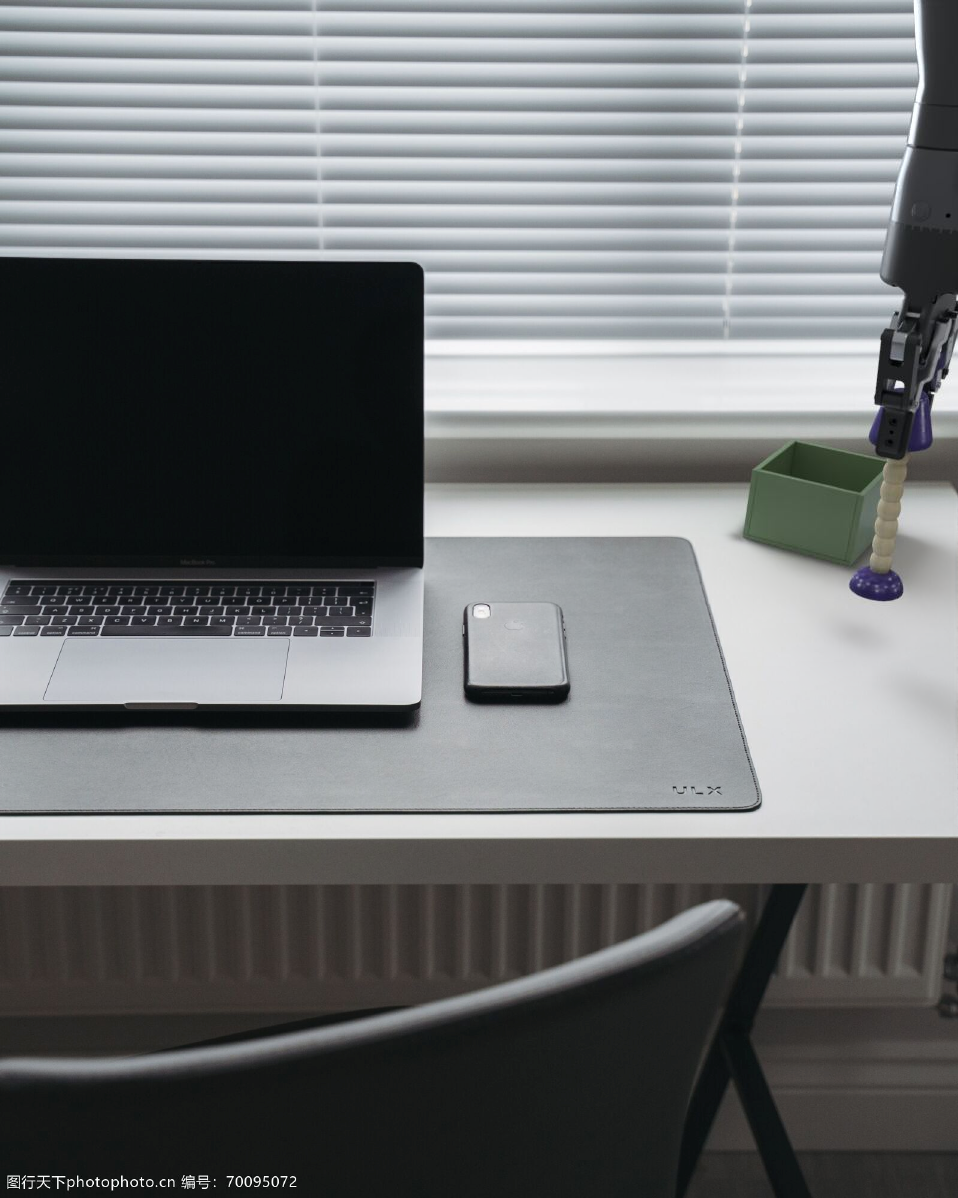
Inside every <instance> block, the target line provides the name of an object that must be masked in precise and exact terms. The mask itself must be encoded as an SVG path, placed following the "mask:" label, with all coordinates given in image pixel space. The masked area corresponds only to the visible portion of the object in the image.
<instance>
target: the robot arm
mask: <svg viewBox="0 0 958 1198" xmlns="http://www.w3.org/2000/svg"><path fill="white" fill-rule="evenodd" d="M912 3H913V4H912V5H913V22H914V23H913V25H914V46H915V58H916V67H917V85H916V90H915V94H914V99H913V105H912V110H911V115H910V121H909V126H908V131H907V138H906V143H907V144H906V145H905V148H904V153H903V156H902V160H901V162H900V166H899V169H898V172H897V176H896V180H895V186H894V190H893V194H892V200H891V207H890V211H889V217H888V222H887V228H886V234H885V240H884V246H883V252H882V257H881V261H880V268H879V278H880V279H881V281H882V282H883V283H884V284H886V285H887V286H890V287H893V288H899V289H900V290H901V291H902V292H903V293H904V294H903V297H904V298H903V299H902V302H901V305H900V309H899V311H898V310H894V311H893V314H892V315H891V316H892V317H891V320H890V324H889V327H888V328H887V327H885V328H884V329H883V331H882V333H881V334H880V338H879V339H880V344H879V345H880V346H879V352H878V353H879V354H878V363H877V371H876V372H877V373H876V382H875V391H874V395H873V400H874V401H873V402H874V405H875V406H879V408H880V407H882V408H883V411H882V416H881V421H880V427H879V432H878V437H877V442H876V446H875V449H874V451H875V454H876V455H877V456H878V457H879V458H884V459H886V458H889V459H894V460H901V459H903V458H904V457H905V456H906V455H907V452H908V447H909V442H910V437H911V432H912V428H913V423H914V418H915V413H916V410H917V409H918V407H919V399H920V396H921V392H922V391H924V392H925V393H926V394H927V395H928V398H929V406H930V415H931V413H932V409H933V404H934V399H935V396H936V395H935V394H937V393H938V392H939V390H940V389H941V387H942V380H946V379H947V378H946V377H947V376H948V375H949V372H950V368H949V367H950V365H951V361H952V357H953V353H954V349H955V345H956V342H957V337H958V300H957V297H958V0H913V1H912ZM897 382H901V383H902V384H903V388H904V392H898V391H894V388H896V383H897ZM934 393H935V394H934Z"/></svg>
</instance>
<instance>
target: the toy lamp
mask: <svg viewBox="0 0 958 1198" xmlns="http://www.w3.org/2000/svg"><path fill="white" fill-rule="evenodd" d="M894 391H898V392H904V387H895V388H894ZM882 411H883V408H882V407H880V406H879V408H878V411H877V414H876V416H875V418H874V420H873V423H872V425H871V427H870V430H869V433H868V441H869V442H870V443H871V445H873V446H874V447H876V442H877V437H878V432H879V427H880V421H881V416H882ZM933 436H934V435H933V425H932V416H931V414H930V406H929V398H928V395H927V394H926V393H925V392H924V391H922V392H921V396H920V399H919V407H918V409H917V410H916V413H915V418H914V423H913V428H912V432H911V437H910V442H909V447H908V452H907V455H906V456H905V457H904V458H903V459H901V460H894V459H889V458H885V459H886V460H887V463H886V464H885V466H884V469H883V477H884V481H883V483H882V485H881V489H880V495H881V499H880V501H879V503H878V507H877V513H878V518H877V520H876V522H875V532H876V535H875V536H874V539H873V541H872V543H871V545H872V551H873V552H872V553H871V556H870V559H869V565H867V566H863V567H861V568H859V569H858V570H856V571H855V572H854V574H853V575H852V577H851V579H850V581H849V584H848V586H849V587H848V588H849V590H850V591H851V592H852V593H853V594H855V595H856V596H858V597H860V598H862V599H865V600H869V601H874V602H875V601H876V602H893V601H895V600H898V599H900V598H901V597H902V596H903V594H904V583H903V580H902V578H901V576H900V575H899V574H898V573H897V572H896V571H895V570H893V569H891V568H892V566H893V561H894V560H893V555H892V554H893V552H894V551H895V549H896V548H895V547H896V538H895V536H896V535H897V532H898V530H899V521H898V518H899V516H900V514H901V511H902V504H901V499H902V498H903V496H904V491H905V487H904V485H905V484H904V481H905V480H906V478H907V475H908V474H907V473H908V467H907V463H908V461H909V460H910V456H911V453H917V452H922V451H925V450H928V449H929V448H931V446H932V445H933V441H934V438H933Z"/></svg>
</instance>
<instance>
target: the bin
mask: <svg viewBox="0 0 958 1198" xmlns="http://www.w3.org/2000/svg"><path fill="white" fill-rule="evenodd" d="M886 463H887V459H886V458H883V457H877V456H872V455H867V454H864V453H859V452H853V451H849V450H846V449H840V448H836V447H831V446H827V445H823V444H818V443H814V442H813V443H812V442H809V441H803V440H799V439H794V438H792V439H790V440H789V441H788V442H786V443H785V444H784V445H783V446H781V447H780V448H778V449H777V450H775V452H774V453H772V454H771V455H770V456H768V457H767V458H765V460H763V461H762V462H761V463H759V464H758V465H756V467H754V468H752V470H751V477H750V483H749V490H748V496H747V505H746V512H745V518H744V524H743V531H742V538H743V539H747V540H751V541H755V542H758V543H761V544H766V545H769V546H772V547H776V548H781V549H784V550H788V551H792V552H795V553H799V554H803V555H806V556H810V557H813V558H817V559H821V560H825V561H830V562H832V563H836V564H840V565H844V566H847V567H851V566H852V565H853V564H854V563H855V562H856V561H857V560H858V559H859V557H860V556H861V555H862V554H863V553H864V552H865V550H867V549H868V548H869V546H870V545H872V543H873V539H874V536H875V535H876V532H875V522H876V520H877V518H878V513H877V507H878V503H879V501H880V499H881V495H880V489H881V485H882V483H883V481H884V477H883V469H884V466H885V464H886Z"/></svg>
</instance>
